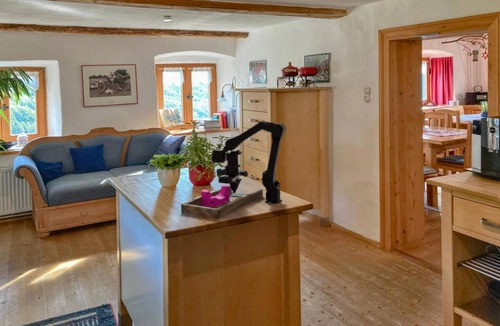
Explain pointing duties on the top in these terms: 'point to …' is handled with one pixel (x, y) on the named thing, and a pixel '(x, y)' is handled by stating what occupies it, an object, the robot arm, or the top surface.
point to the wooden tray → (197, 209)
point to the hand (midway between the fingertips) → (234, 193)
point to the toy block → (215, 197)
